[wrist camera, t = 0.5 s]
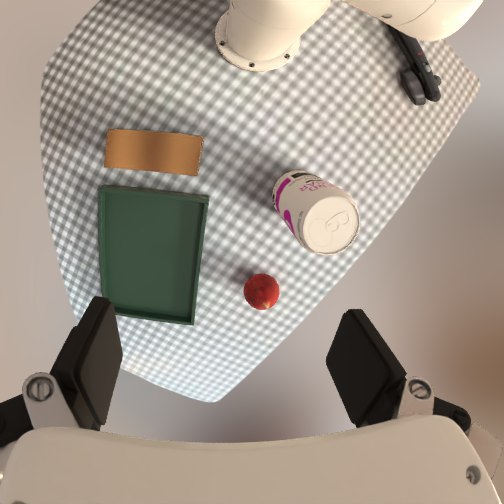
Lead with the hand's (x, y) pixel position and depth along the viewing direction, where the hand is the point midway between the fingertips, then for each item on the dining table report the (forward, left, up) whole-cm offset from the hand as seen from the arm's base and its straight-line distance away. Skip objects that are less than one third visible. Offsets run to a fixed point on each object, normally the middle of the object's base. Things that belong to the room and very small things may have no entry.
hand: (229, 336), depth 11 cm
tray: (+14, -9, -34) cm, 38 cm away
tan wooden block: (-4, -9, -34) cm, 35 cm away
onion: (+16, +10, -34) cm, 39 cm away
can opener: (-30, +28, -34) cm, 53 cm away
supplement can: (0, +13, -34) cm, 36 cm away
